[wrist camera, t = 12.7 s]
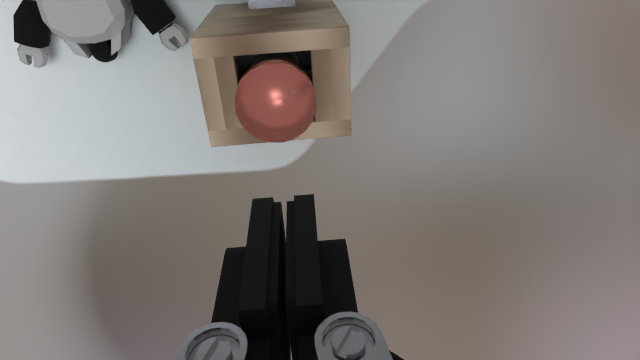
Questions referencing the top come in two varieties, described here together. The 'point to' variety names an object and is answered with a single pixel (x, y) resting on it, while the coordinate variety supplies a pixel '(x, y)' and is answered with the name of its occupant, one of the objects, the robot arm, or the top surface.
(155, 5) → the robot toy
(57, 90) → the top surface
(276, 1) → the rail
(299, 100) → the plunger
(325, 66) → the open wooden box
